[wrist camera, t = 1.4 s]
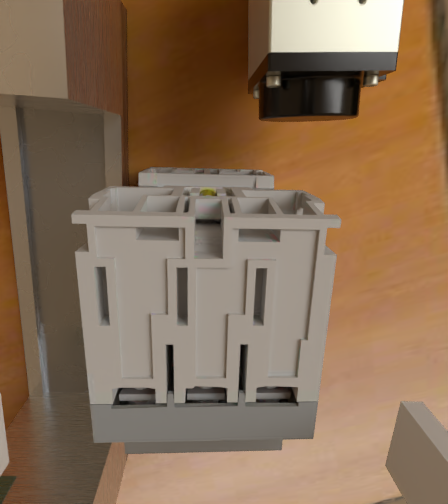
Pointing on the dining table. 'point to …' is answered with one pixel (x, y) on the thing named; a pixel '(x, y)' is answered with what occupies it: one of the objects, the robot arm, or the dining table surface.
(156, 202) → the circuit breaker
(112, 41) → the rail with modules
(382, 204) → the dining table surface
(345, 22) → the pneumatic valve
